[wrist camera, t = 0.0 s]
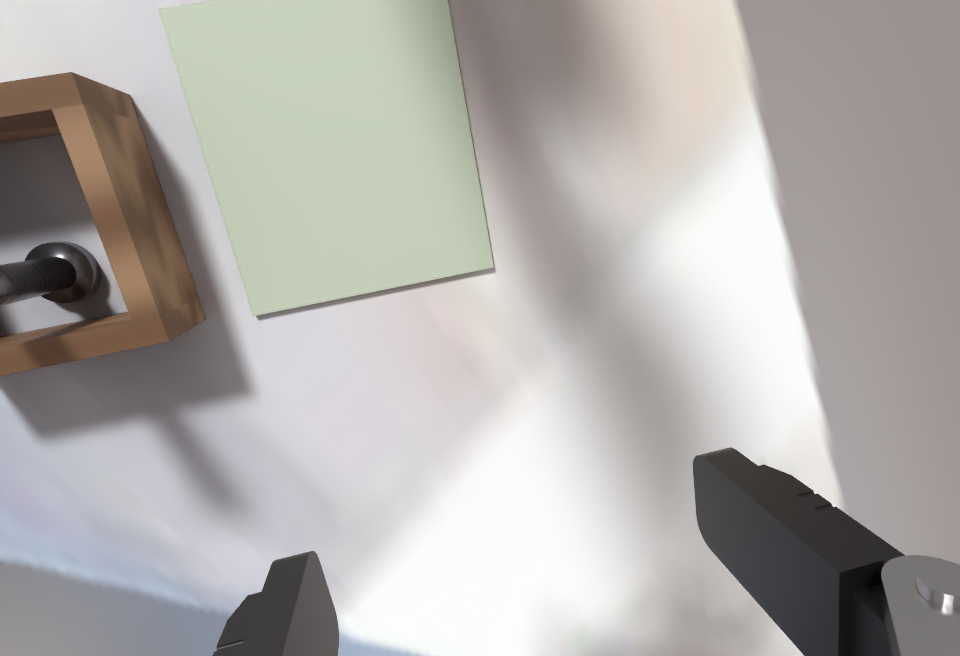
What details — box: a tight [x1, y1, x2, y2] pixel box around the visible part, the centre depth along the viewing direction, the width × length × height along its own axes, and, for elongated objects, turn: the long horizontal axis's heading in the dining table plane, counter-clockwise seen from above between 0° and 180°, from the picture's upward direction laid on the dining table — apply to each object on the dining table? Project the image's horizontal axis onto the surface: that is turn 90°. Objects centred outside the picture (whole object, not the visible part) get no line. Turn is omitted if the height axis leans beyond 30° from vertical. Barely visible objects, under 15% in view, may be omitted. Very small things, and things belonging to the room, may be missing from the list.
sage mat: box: [158, 0, 494, 316], centre depth 35 cm, size 20×18×1 cm
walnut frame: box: [0, 72, 206, 376], centre depth 31 cm, size 15×15×6 cm
